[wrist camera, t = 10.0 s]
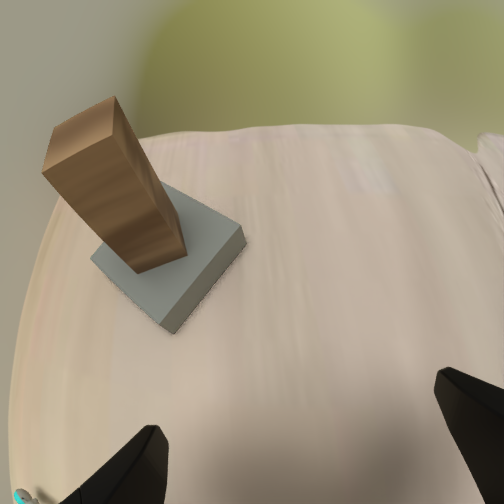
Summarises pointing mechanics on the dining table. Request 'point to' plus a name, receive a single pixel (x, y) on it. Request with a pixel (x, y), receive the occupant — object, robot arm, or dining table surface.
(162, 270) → the slate tile
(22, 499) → the perfume bottle
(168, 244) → the pillar
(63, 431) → the dining table surface
